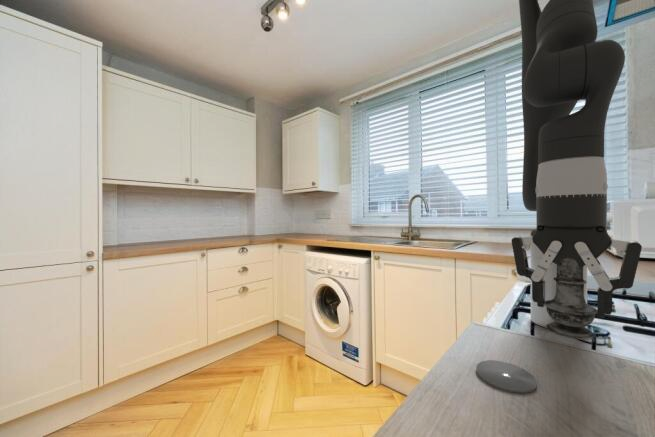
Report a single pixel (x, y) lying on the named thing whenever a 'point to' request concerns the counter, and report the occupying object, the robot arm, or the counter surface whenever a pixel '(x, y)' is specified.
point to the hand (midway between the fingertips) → (569, 310)
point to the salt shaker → (570, 303)
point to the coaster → (506, 376)
